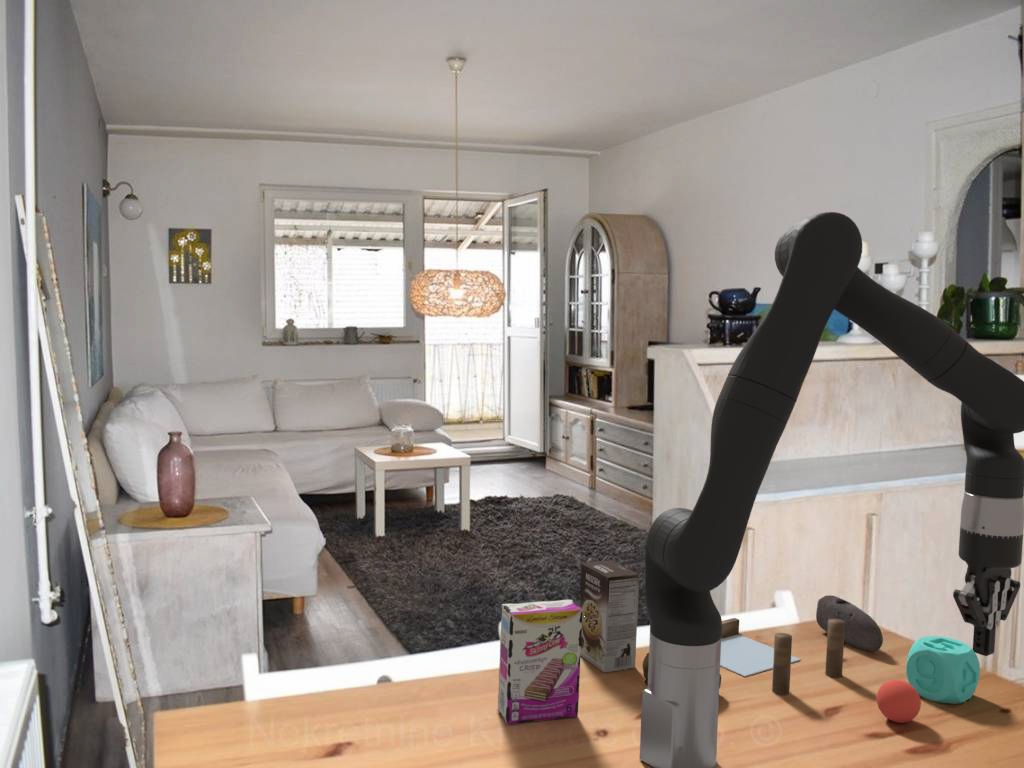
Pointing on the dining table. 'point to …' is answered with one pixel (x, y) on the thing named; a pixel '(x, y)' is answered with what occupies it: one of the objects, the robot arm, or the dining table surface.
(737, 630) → the stopper rail
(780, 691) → the post left
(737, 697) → the dining table surface
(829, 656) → the post right
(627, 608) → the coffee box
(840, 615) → the perforated stone tool
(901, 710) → the ball
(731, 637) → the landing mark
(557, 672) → the candy bar box
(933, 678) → the decorative dice
